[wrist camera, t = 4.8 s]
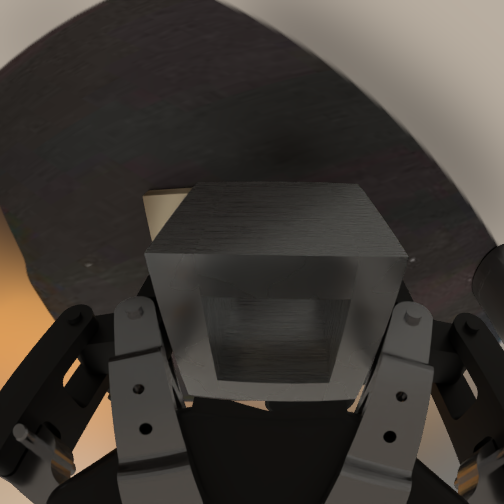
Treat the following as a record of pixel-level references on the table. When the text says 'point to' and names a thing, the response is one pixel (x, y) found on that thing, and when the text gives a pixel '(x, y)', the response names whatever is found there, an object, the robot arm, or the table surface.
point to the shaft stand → (162, 206)
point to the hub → (275, 288)
